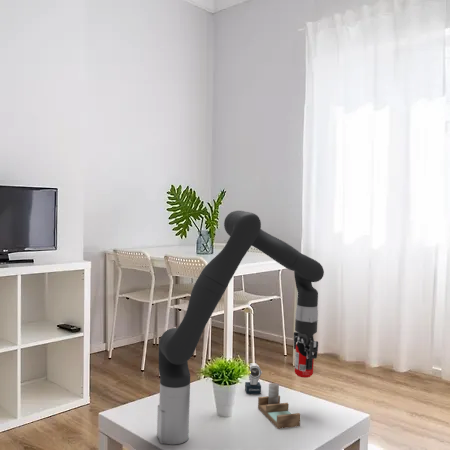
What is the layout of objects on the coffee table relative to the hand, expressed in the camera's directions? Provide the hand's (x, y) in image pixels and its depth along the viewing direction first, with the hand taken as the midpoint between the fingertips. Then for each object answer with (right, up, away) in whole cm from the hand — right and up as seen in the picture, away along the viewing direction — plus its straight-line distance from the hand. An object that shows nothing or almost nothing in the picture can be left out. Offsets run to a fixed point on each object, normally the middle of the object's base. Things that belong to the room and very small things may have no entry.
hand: (304, 366), depth 177 cm
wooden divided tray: (-9, -17, -2) cm, 19 cm away
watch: (-17, -16, +21) cm, 31 cm away
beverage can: (0, -3, 0) cm, 3 cm away
